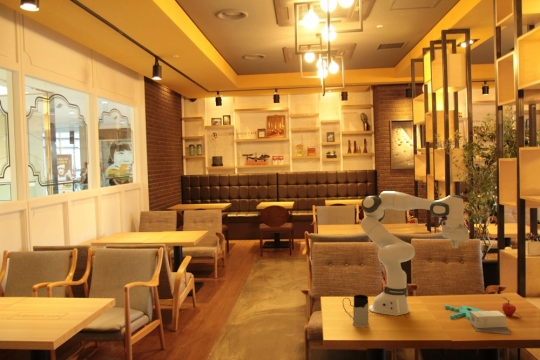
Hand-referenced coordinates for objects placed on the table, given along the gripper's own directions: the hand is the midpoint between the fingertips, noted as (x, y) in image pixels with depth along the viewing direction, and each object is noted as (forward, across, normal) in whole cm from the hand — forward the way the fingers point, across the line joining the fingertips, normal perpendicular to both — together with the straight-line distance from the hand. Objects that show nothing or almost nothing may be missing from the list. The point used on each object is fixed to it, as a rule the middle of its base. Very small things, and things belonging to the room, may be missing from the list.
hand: (455, 247), depth 268 cm
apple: (+37, -13, -25) cm, 47 cm away
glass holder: (+37, -2, +62) cm, 73 cm away
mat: (+37, -27, -2) cm, 46 cm away
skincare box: (+34, -22, +5) cm, 40 cm away
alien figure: (+38, -5, -4) cm, 38 cm away
